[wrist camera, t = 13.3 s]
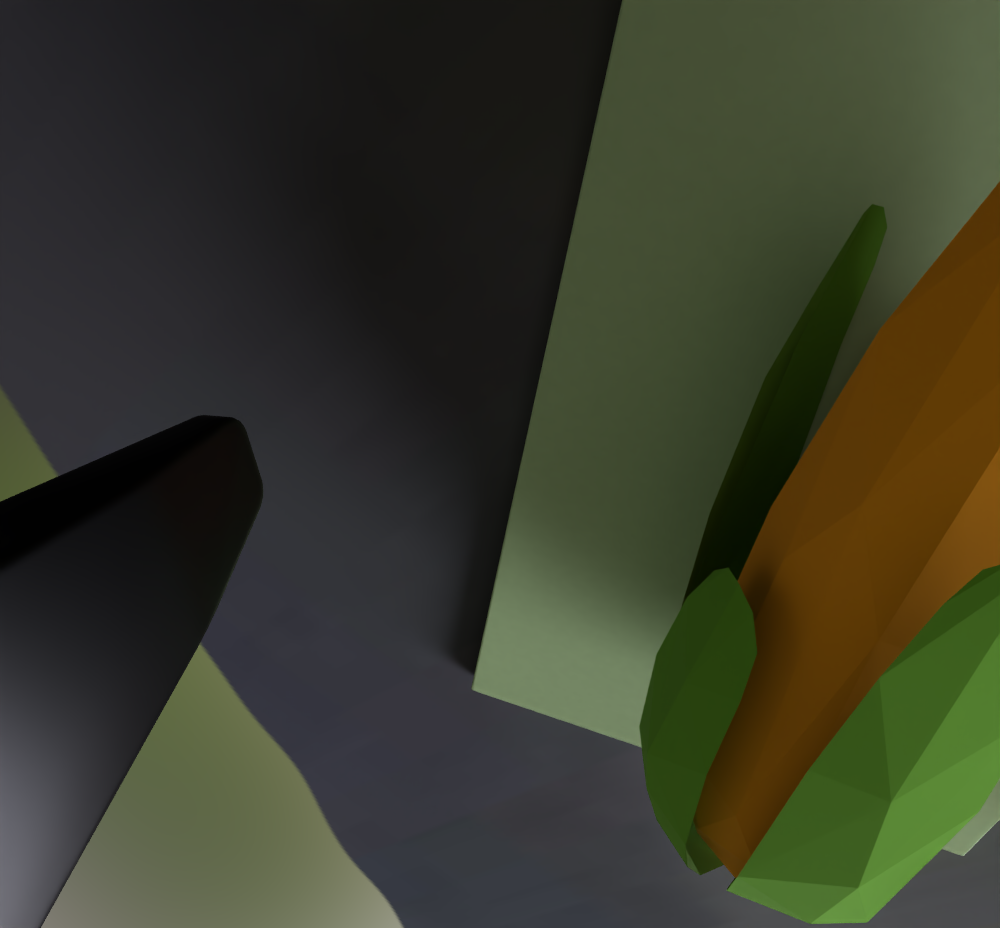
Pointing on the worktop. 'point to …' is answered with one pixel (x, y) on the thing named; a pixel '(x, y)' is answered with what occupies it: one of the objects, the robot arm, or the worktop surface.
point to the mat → (717, 301)
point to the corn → (846, 603)
